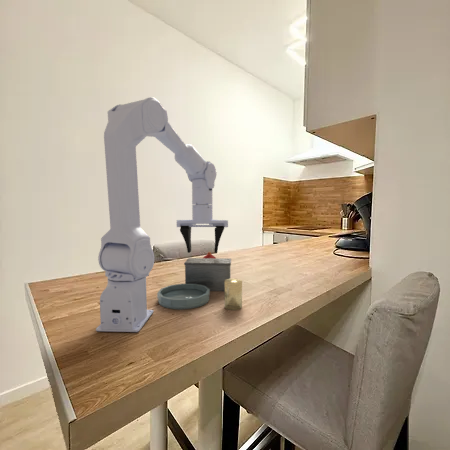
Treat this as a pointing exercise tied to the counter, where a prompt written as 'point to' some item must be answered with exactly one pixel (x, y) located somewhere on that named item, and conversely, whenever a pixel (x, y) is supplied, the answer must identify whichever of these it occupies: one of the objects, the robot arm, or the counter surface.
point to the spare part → (233, 294)
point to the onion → (209, 255)
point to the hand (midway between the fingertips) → (202, 252)
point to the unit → (208, 272)
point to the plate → (183, 296)
